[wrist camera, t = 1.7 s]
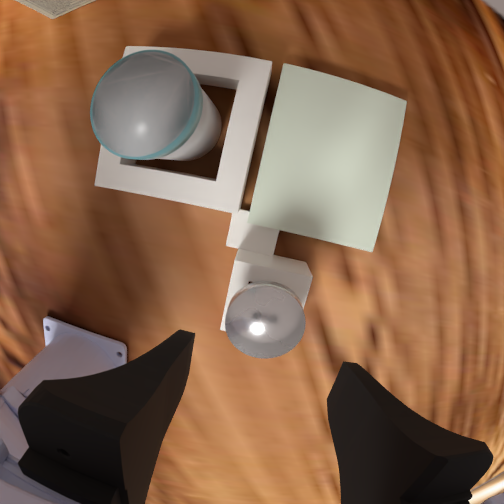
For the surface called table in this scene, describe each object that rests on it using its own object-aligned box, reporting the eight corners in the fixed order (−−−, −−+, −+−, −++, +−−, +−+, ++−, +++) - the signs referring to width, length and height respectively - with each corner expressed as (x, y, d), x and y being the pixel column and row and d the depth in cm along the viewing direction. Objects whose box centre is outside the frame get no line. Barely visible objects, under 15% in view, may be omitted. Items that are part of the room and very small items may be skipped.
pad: (367, 248, 20) (372, 252, 19) (247, 220, 20) (247, 222, 19) (400, 103, 18) (406, 101, 17) (282, 67, 17) (283, 62, 16)
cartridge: (214, 168, 19) (182, 167, 11) (145, 156, 19) (80, 152, 11) (230, 98, 18) (209, 54, 10) (161, 88, 18) (105, 49, 10)
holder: (288, 322, 22) (292, 344, 19) (102, 277, 21) (82, 292, 18) (345, 93, 18) (359, 81, 15) (140, 57, 17) (122, 43, 14)
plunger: (288, 332, 20) (293, 364, 16) (226, 319, 20) (218, 349, 16) (305, 273, 19) (315, 296, 15) (239, 258, 19) (233, 279, 15)
